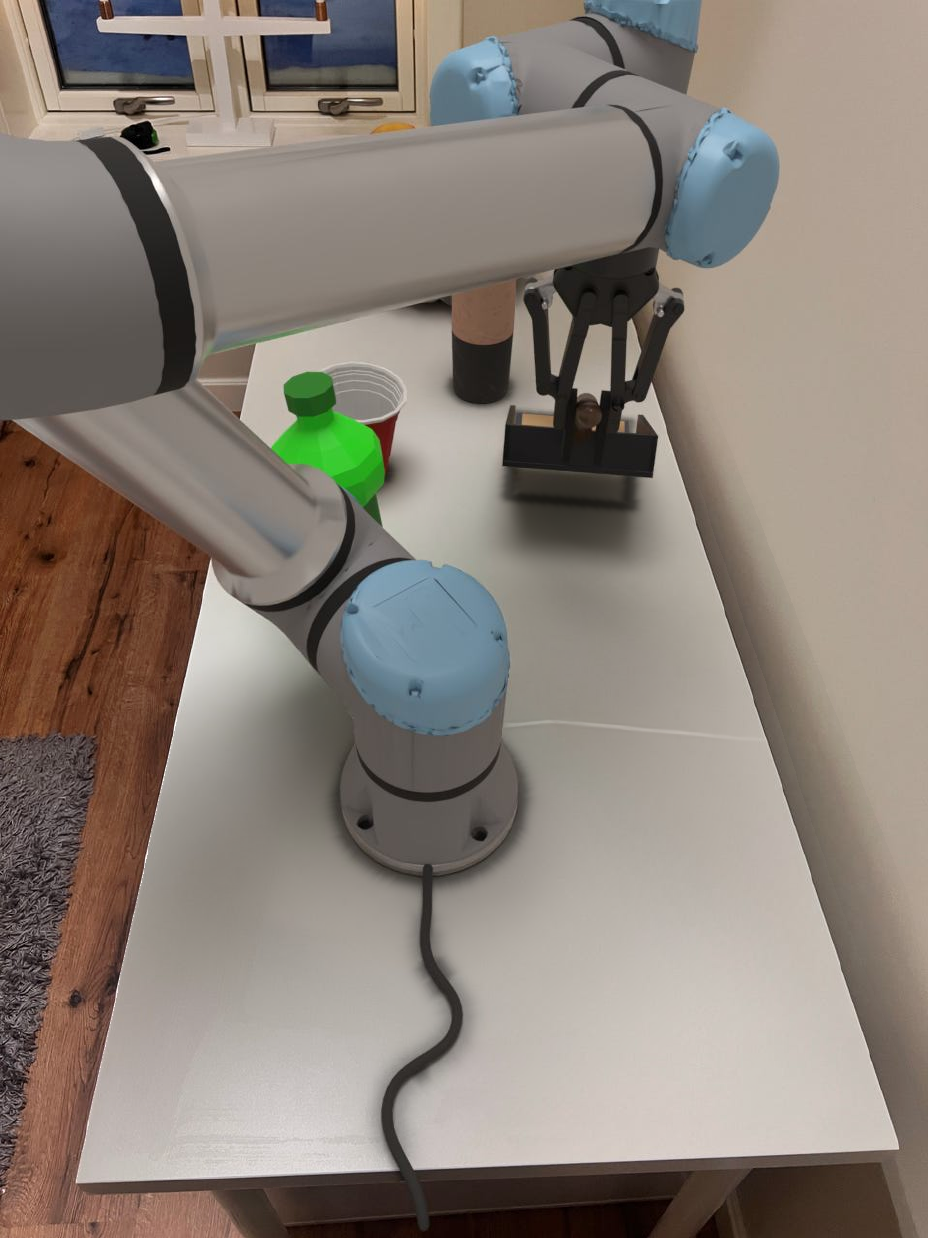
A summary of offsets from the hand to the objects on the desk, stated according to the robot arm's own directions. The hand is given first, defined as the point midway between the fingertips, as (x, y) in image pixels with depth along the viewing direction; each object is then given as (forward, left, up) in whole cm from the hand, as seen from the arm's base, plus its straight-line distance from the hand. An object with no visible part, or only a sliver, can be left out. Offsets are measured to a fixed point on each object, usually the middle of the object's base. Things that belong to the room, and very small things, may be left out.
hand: (581, 455), depth 89 cm
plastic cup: (+13, +24, -16) cm, 31 cm away
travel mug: (+32, +12, -16) cm, 38 cm away
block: (+20, +4, -11) cm, 23 cm away
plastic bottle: (-7, +21, -15) cm, 27 cm away
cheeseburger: (+92, +32, -16) cm, 99 cm away
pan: (+5, 0, -5) cm, 7 cm away
